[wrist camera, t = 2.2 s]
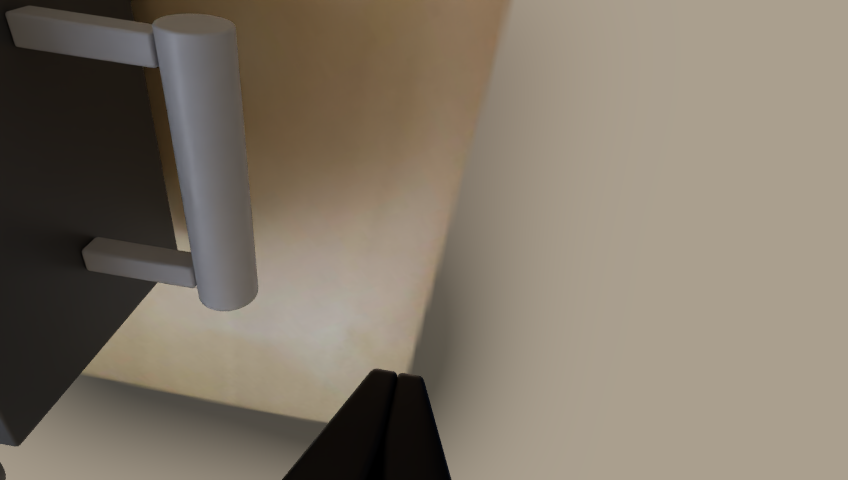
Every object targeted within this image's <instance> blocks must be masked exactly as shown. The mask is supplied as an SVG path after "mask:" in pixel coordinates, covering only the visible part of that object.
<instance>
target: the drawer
mask: <svg viewBox="0 0 848 480" xmlns="http://www.w3.org/2000/svg"><path fill="white" fill-rule="evenodd" d="M143 66H144V67H150V68H156V67H158V66H159V68H160V73H161V79H162V85H163V91H164V97H165V103H166V108H167V114H168V120H169V126H170V132H171V137H172V143H173V149H174V155H175V161H176V167H177V172H178V178H179V184H180V190H181V196H182V202H183V207H184V213H185V219H186V225H187V231H188V236H189V242H190V248H191V252H185V251H179V250H177V244H176V239H175V234H174V228H173V223H172V218H171V213H170V207H169V202H168V197H167V192H166V186H165V181H164V176H163V170H162V165H161V160H160V155H159V149H158V144H157V139H156V134H155V128H154V123H153V118H152V112H151V107H150V102H149V97H148V91H147V86H146V81H145V76H144V70H143ZM157 282H160V283H166V284H171V285H177V286H183V287H189V288H194V287H195V286H196V285H197V289H198V295H199V299H200V301H201V302H202V303H203V304H204V305H205V306H206V307H208V308H210V309H213V310H217V311H232V310H236V309H240V308H242V307H244V306H246V305H248V304H249V303H251V302H252V301H253V300H254V299H255V297H256V295H257V293H258V280H257V269H256V257H255V245H254V234H253V222H252V210H251V199H250V187H249V176H248V164H247V152H246V141H245V129H244V118H243V106H242V94H241V83H240V71H239V59H238V48H237V36H236V27H235V25H234V23H233V22H232V21H230V20H228V19H225V18H222V17H218V16H213V15H206V14H173V15H167V16H163V17H160V18H158V19H156V20H154V22H153V24H148V23H142V22H135V21H134V17H133V12H132V7H131V2H130V0H0V444H5V445H11V446H19V445H20V444H21V443H22V442H23V441H24V440H25V439H26V437H27V436H28V435H29V434H30V433H31V432H32V430H33V429H34V428H35V427H36V426H37V424H38V423H39V422H40V421H41V420H42V418H43V417H44V416H45V415H46V414H47V413H48V411H49V410H50V409H51V408H52V407H53V405H54V404H55V403H56V402H57V401H58V400H59V398H60V397H61V396H62V395H63V394H64V392H65V391H66V390H67V389H68V388H69V387H70V385H71V384H72V383H73V382H74V381H75V379H76V378H77V377H78V376H79V375H80V373H81V372H82V371H83V370H84V369H85V368H86V366H87V365H88V364H89V363H90V362H91V360H92V359H93V358H94V357H95V356H96V355H97V353H98V352H99V351H100V350H101V349H102V347H103V346H104V345H105V344H106V343H107V342H108V340H109V339H110V338H111V337H112V336H113V334H114V333H115V332H116V331H117V330H118V329H119V327H120V326H121V325H122V324H123V323H124V321H125V320H126V319H127V318H128V317H129V315H130V314H131V313H132V312H133V311H134V310H135V308H136V307H137V306H138V305H139V304H140V302H141V301H142V300H143V299H144V298H145V297H146V295H147V294H148V293H149V292H150V291H151V289H152V288H153V287H154V286H155V285H156V284H157Z"/></svg>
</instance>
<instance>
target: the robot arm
mask: <svg viewBox="0 0 848 480" xmlns="http://www.w3.org/2000/svg"><path fill="white" fill-rule="evenodd" d="M282 480H451V477H450V473H449V470H448V466H447V462H446V459H445V455H444V452H443V448H442V444H441V441H440V437H439V433H438V430H437V426H436V423H435V419H434V415H433V412H432V408H431V404H430V401H429V397H428V394H427V390H426V386H425V383H424V380H423V378H422V377H421V376H416V375H411V374H405V373H401V374H399V375H398V377H397V374H396V373H395V372H394V371H388V370H382V369H373V370H372V371H371V372H370V373H369V374H368V375H367V376H366V378H365V379H364V380H363V381H362V383H361V384H360V385H359V386H358V387H357V389H356V390H355V391H354V392H353V394H352V395H351V396H350V397H349V398H348V400H347V401H346V402H345V403H344V405H343V406H342V407H341V408H340V409H339V411H338V412H337V413H336V414H335V416H334V417H333V418H332V419H331V420H330V422H329V423H328V424H327V425H326V427H325V428H324V429H323V430H322V431H321V433H320V434H319V435H318V436H317V437H316V439H315V440H314V441H313V442H312V444H311V445H310V446H309V447H308V449H307V450H306V451H305V452H304V453H303V455H302V456H301V457H300V458H299V459H298V461H297V462H296V463H295V464H294V466H293V467H292V468H291V469H290V470H289V472H288V473H287V474H286V476H285V477H284V478H283V479H282Z"/></svg>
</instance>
